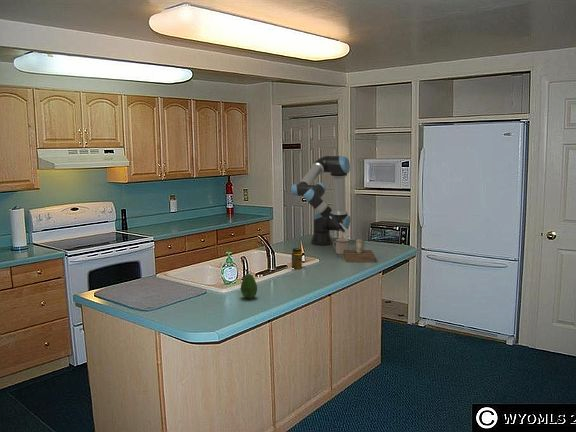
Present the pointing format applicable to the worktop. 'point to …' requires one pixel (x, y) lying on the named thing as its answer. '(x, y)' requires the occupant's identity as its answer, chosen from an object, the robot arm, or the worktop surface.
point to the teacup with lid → (341, 245)
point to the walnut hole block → (359, 256)
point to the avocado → (248, 286)
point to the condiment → (297, 259)
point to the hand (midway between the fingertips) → (346, 233)
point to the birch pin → (359, 246)
